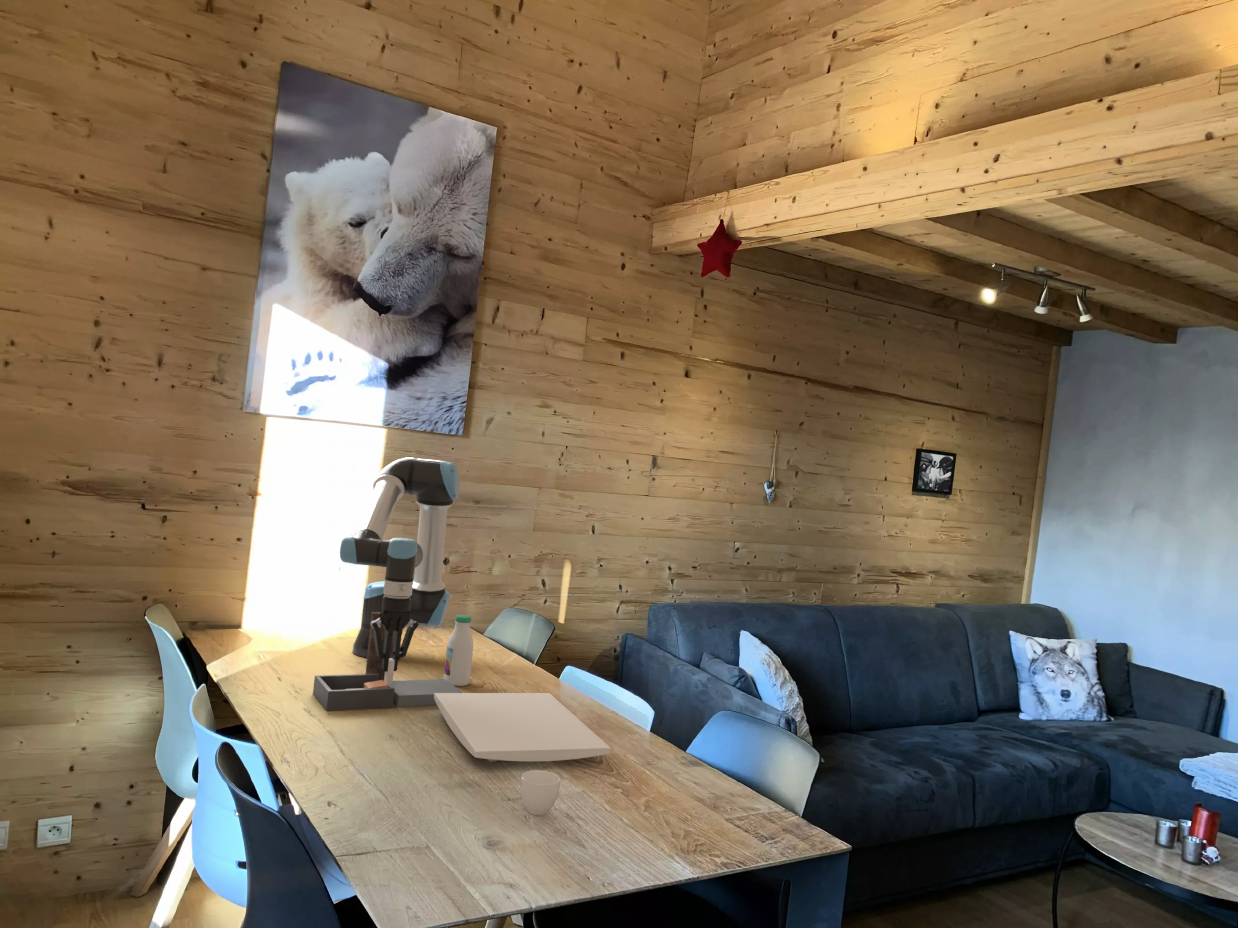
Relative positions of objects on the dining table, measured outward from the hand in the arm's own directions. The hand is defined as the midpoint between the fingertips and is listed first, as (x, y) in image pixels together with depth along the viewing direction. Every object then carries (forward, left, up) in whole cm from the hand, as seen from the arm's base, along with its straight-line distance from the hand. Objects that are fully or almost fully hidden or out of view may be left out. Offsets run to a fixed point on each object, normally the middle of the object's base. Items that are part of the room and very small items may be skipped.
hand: (387, 682), depth 242 cm
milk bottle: (-13, +25, -5) cm, 29 cm away
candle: (-18, +3, -5) cm, 19 cm away
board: (+35, +22, -5) cm, 42 cm away
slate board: (0, +10, -4) cm, 11 cm away
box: (0, -9, -4) cm, 10 cm away
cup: (+77, +7, -5) cm, 77 cm away
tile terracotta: (0, -3, -2) cm, 4 cm away
